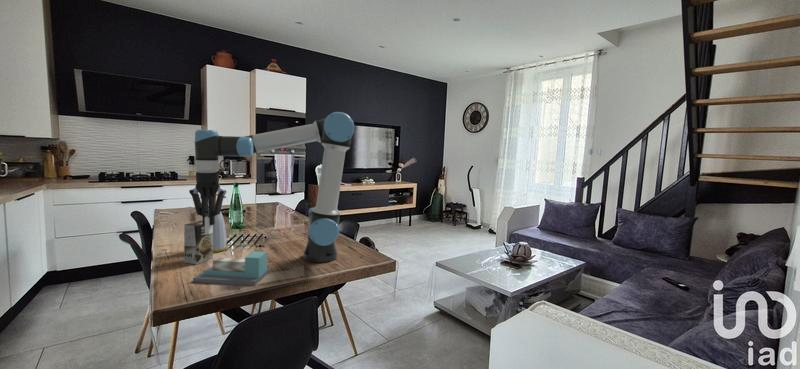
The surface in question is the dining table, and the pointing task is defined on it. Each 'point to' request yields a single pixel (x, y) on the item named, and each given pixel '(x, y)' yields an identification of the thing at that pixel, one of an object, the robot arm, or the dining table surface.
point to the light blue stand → (251, 276)
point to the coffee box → (197, 243)
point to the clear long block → (229, 264)
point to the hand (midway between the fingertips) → (209, 233)
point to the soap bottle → (219, 232)
